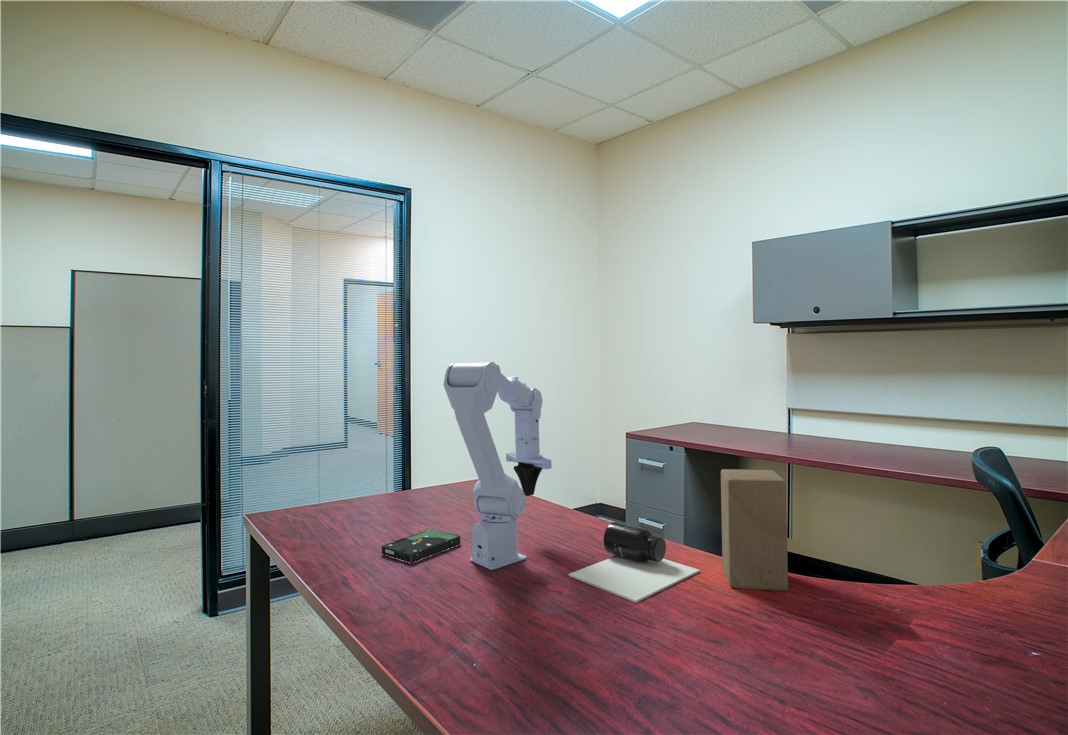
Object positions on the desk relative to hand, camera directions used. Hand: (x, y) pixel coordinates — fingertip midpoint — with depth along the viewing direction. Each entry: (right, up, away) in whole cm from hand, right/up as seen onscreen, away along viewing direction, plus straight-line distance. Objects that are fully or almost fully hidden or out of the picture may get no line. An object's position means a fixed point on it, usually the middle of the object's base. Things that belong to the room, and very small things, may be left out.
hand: (528, 494), depth 129 cm
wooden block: (+43, -10, -27) cm, 51 cm away
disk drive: (-24, -12, -6) cm, 28 cm away
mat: (+21, -10, -23) cm, 33 cm away
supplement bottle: (+18, -6, -12) cm, 22 cm away
